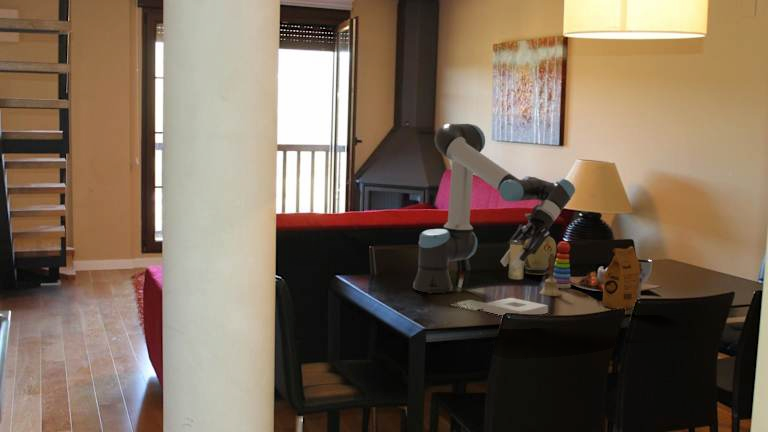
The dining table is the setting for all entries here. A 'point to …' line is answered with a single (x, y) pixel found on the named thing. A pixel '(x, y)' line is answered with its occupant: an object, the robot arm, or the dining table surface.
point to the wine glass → (644, 272)
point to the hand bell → (550, 280)
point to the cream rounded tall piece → (539, 254)
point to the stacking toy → (562, 266)
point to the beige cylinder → (515, 249)
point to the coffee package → (622, 279)
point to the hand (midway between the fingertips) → (508, 265)
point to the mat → (474, 305)
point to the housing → (514, 307)
